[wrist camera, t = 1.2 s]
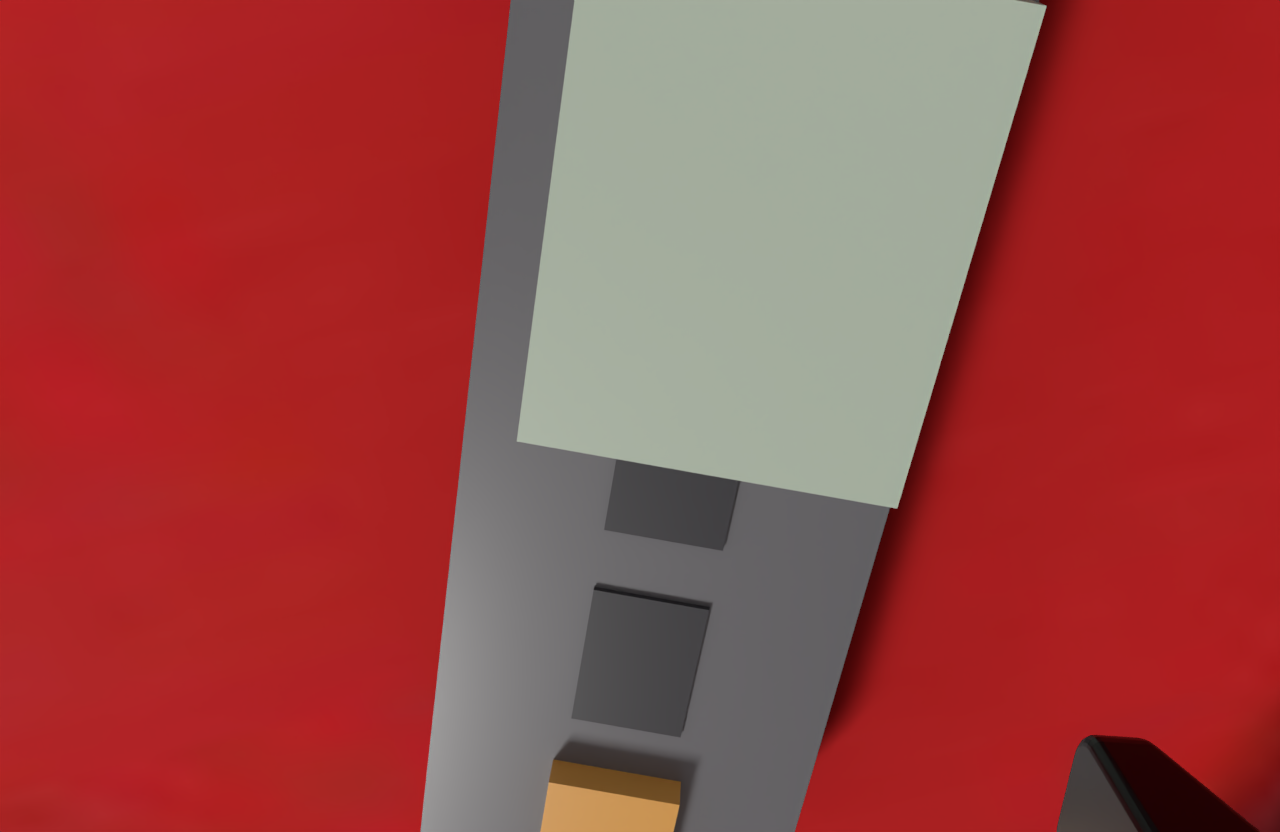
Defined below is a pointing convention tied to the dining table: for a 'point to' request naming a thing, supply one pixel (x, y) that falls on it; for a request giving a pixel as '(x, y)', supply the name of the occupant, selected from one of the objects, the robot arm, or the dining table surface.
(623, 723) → the power strip
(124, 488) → the dining table surface
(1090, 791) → the robot arm
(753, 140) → the block
